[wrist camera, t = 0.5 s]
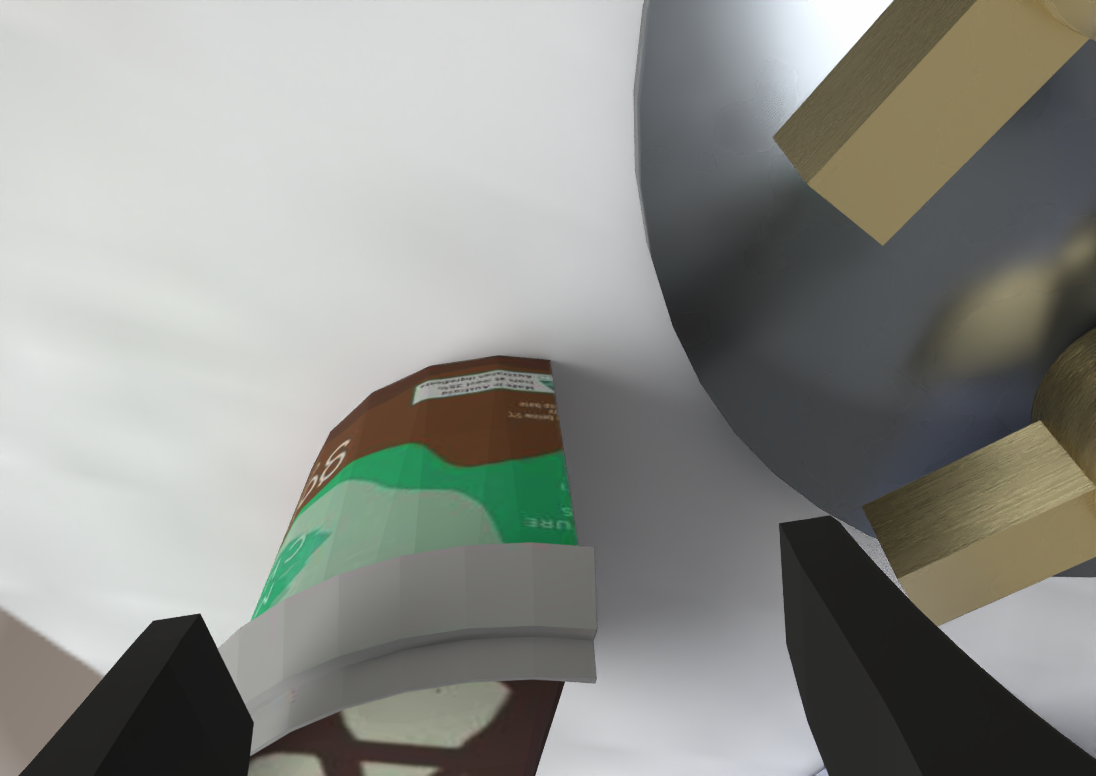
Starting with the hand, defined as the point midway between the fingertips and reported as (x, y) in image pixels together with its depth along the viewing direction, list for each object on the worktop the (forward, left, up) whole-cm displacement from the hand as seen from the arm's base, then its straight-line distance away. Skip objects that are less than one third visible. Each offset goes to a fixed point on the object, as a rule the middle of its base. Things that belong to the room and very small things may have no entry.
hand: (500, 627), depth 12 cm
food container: (-1, +7, -10) cm, 12 cm away
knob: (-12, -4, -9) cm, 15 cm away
